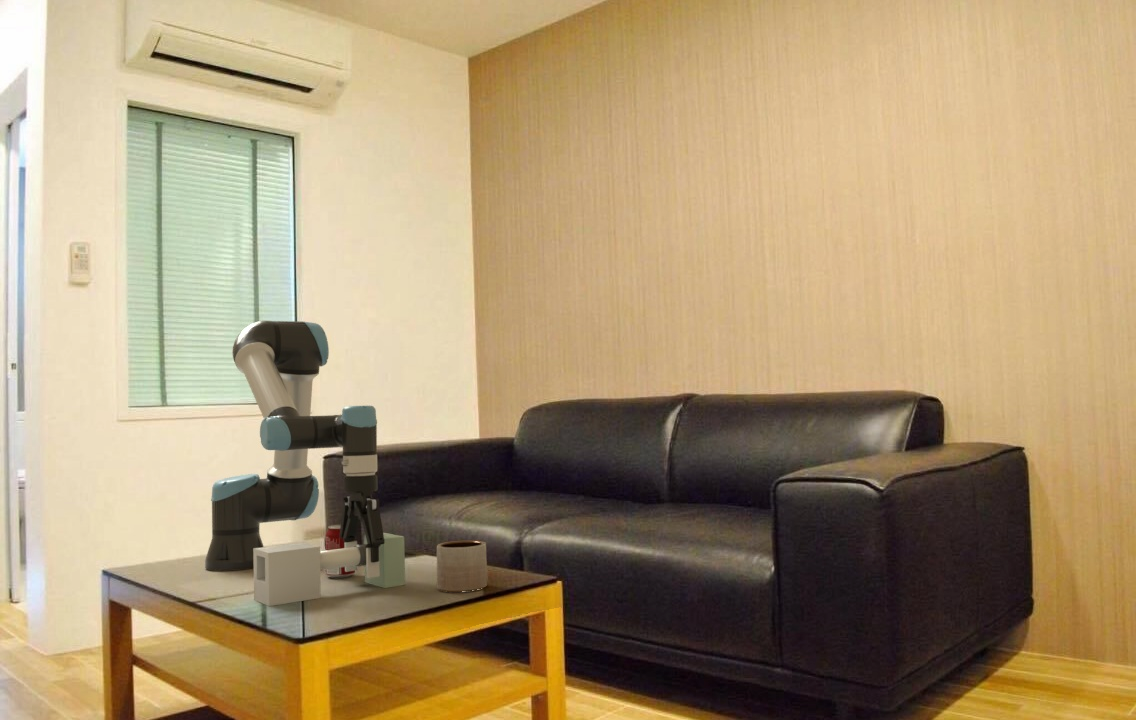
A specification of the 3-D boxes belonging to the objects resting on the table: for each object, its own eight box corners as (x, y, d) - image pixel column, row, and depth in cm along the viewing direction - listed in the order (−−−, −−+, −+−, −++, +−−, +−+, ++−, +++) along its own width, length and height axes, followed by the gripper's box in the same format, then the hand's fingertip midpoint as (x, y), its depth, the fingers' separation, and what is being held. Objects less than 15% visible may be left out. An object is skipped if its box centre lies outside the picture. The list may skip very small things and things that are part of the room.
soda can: (338, 580, 206) (337, 528, 207) (320, 577, 210) (319, 526, 211) (361, 575, 212) (360, 525, 212) (343, 573, 216) (342, 523, 217)
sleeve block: (253, 599, 187) (253, 548, 188) (304, 591, 194) (303, 542, 194) (268, 606, 180) (268, 552, 181) (320, 597, 187) (320, 546, 187)
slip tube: (296, 572, 191) (296, 551, 191) (379, 561, 203) (379, 541, 203) (304, 575, 187) (304, 553, 187) (388, 563, 199) (388, 542, 199)
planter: (444, 595, 185) (443, 549, 186) (431, 586, 195) (430, 543, 196) (494, 590, 190) (493, 544, 190) (478, 581, 200) (477, 538, 200)
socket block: (364, 582, 203) (364, 535, 204) (384, 579, 206) (383, 532, 207) (384, 588, 195) (383, 539, 196) (405, 584, 198) (404, 536, 199)
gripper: (323, 473, 206) (325, 569, 204) (367, 477, 187) (369, 583, 186) (353, 471, 210) (355, 565, 209) (399, 475, 192) (401, 578, 191)
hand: (361, 573), depth 197 cm, fingers open, 10 cm apart
